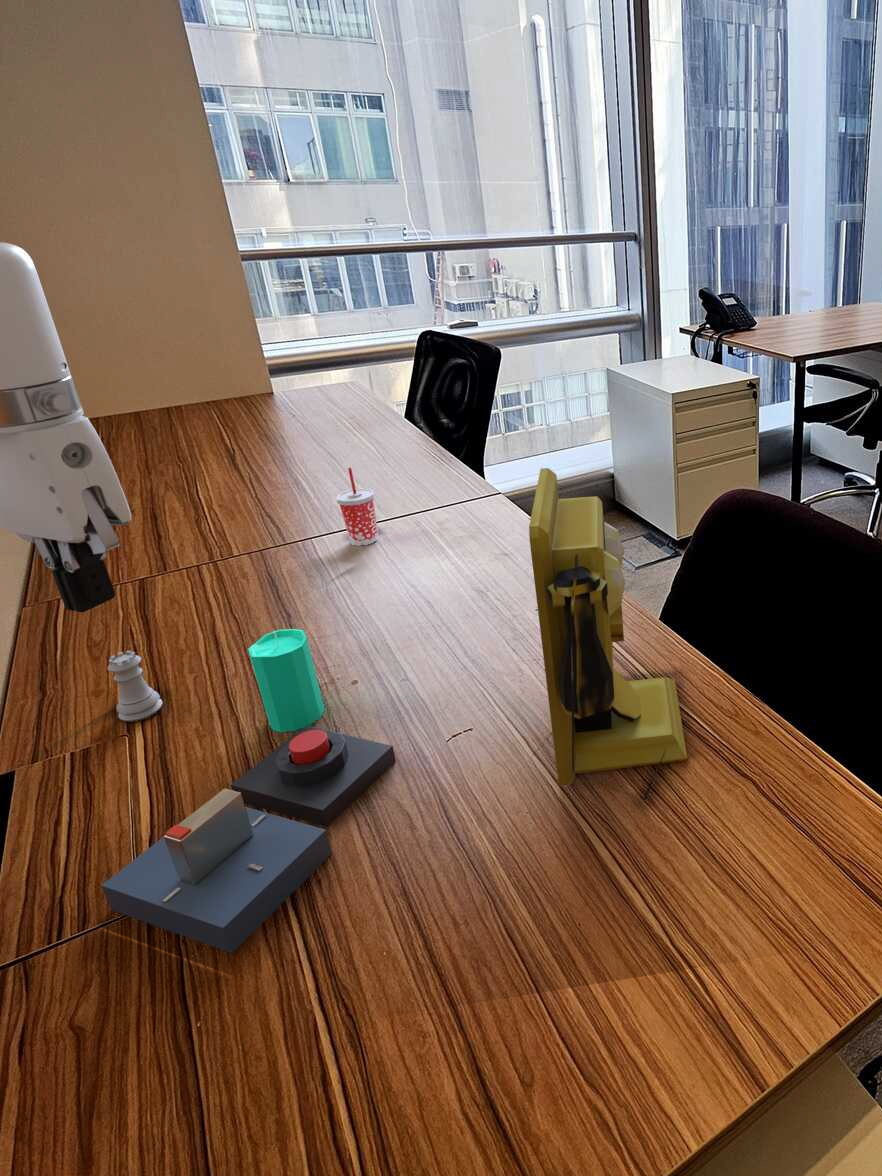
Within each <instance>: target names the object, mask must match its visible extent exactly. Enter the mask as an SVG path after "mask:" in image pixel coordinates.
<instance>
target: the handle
mask: <svg viewBox="0 0 882 1176" xmlns="http://www.w3.org/2000/svg"><path fill="white" fill-rule="evenodd" d="M245 807H246V805H245V803H244V801H243V798H242V795H241V793H239V792H236V791H232V789H230V788H229V789H228V788H223V789H222V790H220V791H219V792H218V793H217V794H215V795H214V796H213V797H211V798H210V799H209V800H208V801H206V802H205V803H204V804H203V805H201V806H200V807H199V808H197V809H196V810H195V811H194V812H192V813H191V814H189V815H188V816H187V817H186V818H184V819H183V820H182V821H181V822H179V823H178V824H177V823H175V825H173V826H172V827H171V828H168V830H167V831H165V834H164V835H163V836H162V838H163V837H164V840H165V842H166V845H167V848H168V850H169V853H170V856H171V858H172V861H173V864H174V866H175V869H176V872H177V874H178V877H179V879H181V880H184V881H187V882H190V883H193V884H197V883H198V882H199V881H200V880H202V879H203V878H204V877H205V876H206V875H207V874H208V873H210V872H211V871H212V870H213V869H214V868H215V867H217V866H218V865H219V864H220V863H221V862H222V861H223V860H225V859H226V858H227V857H228V856H229V855H230V854H231V853H233V852H234V851H235V850H236V849H237V848H238V847H239V846H241V845H242V844H243V843H244V842H245V841H246V840H248V839H249V838H250V837H251V836H252V835H253V834H254V833H253V830H252V827H251V824H250V820H249V817H248V814H247V811H246V808H245Z"/></svg>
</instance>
